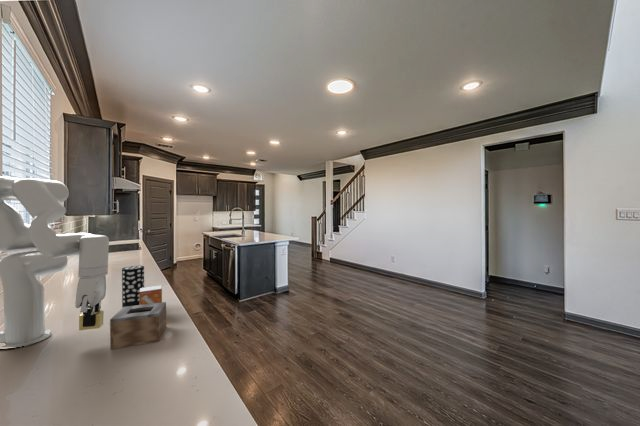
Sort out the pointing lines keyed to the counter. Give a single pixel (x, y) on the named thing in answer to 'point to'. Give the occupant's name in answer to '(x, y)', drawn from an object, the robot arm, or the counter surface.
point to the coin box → (138, 325)
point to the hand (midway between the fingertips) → (91, 323)
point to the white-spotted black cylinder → (132, 285)
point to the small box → (150, 295)
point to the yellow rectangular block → (98, 321)
